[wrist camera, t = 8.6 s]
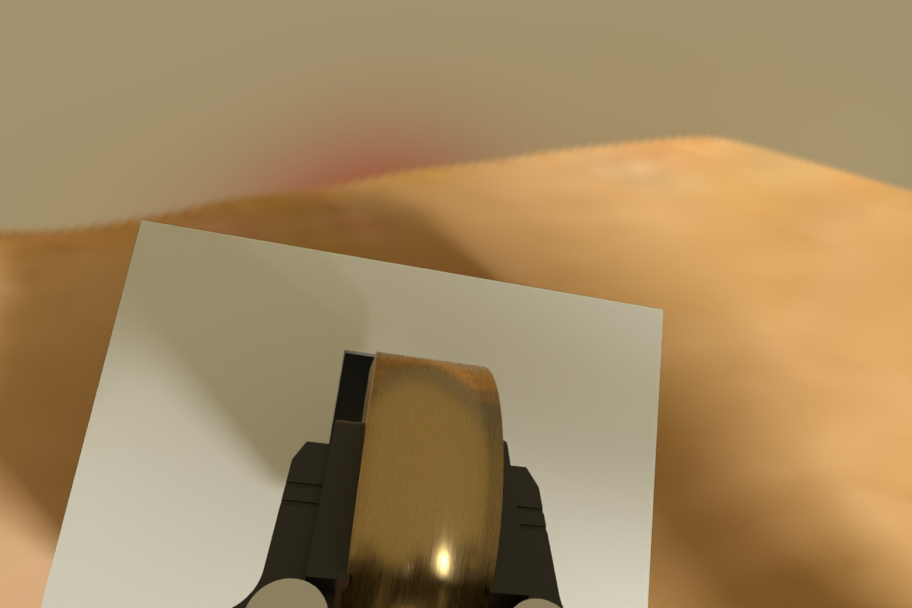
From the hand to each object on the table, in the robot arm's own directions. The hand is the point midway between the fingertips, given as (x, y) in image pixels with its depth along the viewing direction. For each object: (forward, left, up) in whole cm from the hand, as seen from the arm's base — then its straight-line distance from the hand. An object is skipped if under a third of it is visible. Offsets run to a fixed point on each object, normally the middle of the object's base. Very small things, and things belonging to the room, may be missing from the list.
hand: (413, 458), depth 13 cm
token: (0, +1, -5) cm, 5 cm away
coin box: (0, +2, -18) cm, 18 cm away
